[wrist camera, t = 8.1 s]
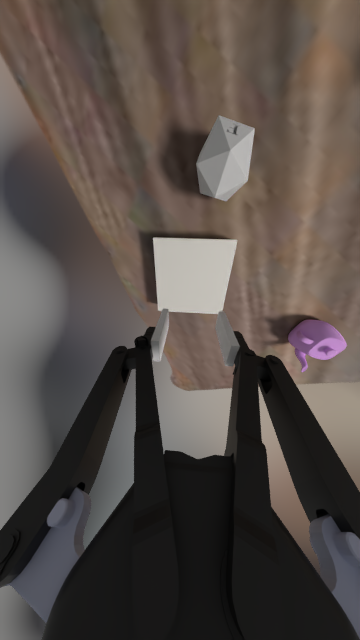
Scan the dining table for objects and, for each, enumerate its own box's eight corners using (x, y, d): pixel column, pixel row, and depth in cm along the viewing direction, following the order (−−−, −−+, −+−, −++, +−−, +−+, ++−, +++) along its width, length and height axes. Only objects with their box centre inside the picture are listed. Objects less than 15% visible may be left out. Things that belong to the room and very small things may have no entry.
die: (249, 150, 25) (280, 106, 16) (228, 211, 29) (243, 201, 21) (204, 134, 24) (212, 80, 16) (190, 199, 29) (190, 184, 20)
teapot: (298, 309, 40) (325, 328, 32) (334, 324, 42) (369, 345, 34) (265, 344, 48) (280, 366, 40) (297, 355, 50) (318, 378, 42)
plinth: (156, 237, 33) (152, 237, 29) (232, 239, 32) (237, 240, 29) (160, 304, 42) (158, 310, 39) (219, 307, 42) (221, 314, 38)
